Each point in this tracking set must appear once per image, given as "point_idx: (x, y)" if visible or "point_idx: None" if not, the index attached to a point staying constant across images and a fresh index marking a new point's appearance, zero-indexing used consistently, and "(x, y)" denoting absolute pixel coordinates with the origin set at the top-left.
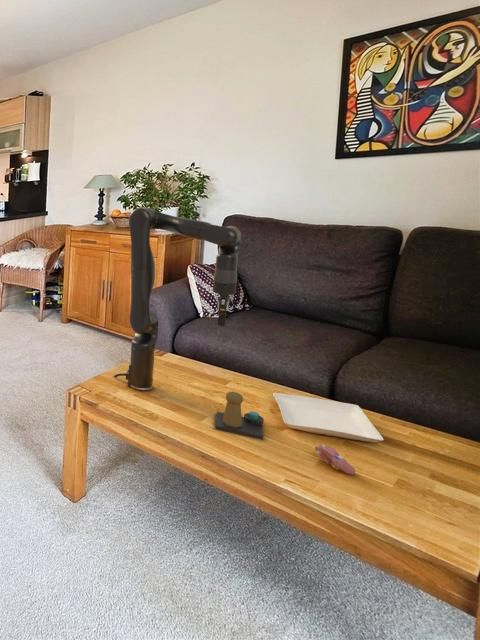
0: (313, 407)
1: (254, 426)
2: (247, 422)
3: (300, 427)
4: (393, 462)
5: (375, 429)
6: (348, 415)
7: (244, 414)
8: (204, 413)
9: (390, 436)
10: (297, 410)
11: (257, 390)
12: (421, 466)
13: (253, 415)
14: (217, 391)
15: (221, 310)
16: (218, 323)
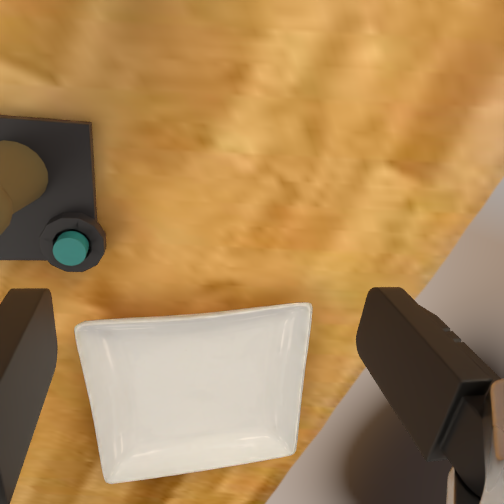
0: (272, 375)
1: (32, 240)
2: (47, 222)
3: (89, 351)
4: (58, 471)
5: (157, 476)
6: (255, 428)
7: (76, 219)
8: (78, 74)
9: (193, 472)
10: (239, 343)
11: (365, 257)
12: (72, 500)
13: (53, 249)
14: (318, 135)
15: (450, 408)
16: (6, 306)
